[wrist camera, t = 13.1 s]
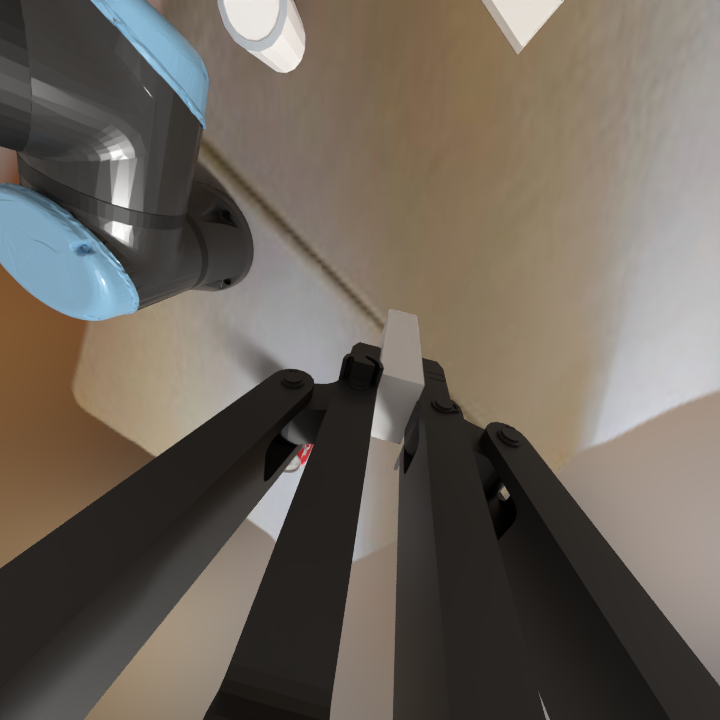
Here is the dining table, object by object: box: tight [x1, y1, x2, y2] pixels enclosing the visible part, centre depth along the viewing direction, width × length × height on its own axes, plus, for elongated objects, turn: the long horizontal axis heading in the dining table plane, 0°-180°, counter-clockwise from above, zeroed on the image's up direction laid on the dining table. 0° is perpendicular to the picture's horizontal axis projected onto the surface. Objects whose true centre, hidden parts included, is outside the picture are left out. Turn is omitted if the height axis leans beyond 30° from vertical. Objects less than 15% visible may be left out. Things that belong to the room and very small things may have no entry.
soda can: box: [283, 444, 313, 473], centre depth 53 cm, size 7×7×12 cm
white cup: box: [218, 0, 305, 73], centre depth 29 cm, size 7×7×7 cm
